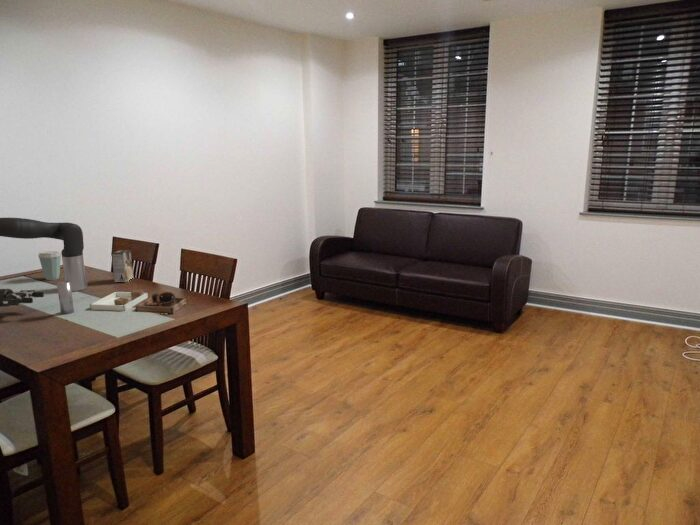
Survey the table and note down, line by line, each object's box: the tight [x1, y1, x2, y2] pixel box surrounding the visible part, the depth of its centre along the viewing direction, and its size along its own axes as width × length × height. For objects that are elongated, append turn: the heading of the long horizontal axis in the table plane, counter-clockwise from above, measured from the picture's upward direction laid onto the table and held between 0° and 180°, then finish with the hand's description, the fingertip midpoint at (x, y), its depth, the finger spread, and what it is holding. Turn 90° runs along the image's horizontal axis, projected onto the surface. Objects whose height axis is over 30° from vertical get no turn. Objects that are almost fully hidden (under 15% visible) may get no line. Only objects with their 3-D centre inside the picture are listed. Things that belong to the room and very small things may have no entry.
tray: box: [89, 291, 149, 312], centre depth 228 cm, size 20×16×3 cm
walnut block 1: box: [114, 298, 129, 305], centre depth 221 cm, size 4×4×4 cm
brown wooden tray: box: [135, 296, 188, 314], centre depth 224 cm, size 15×17×3 cm
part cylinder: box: [56, 280, 75, 315], centre depth 214 cm, size 5×5×14 cm
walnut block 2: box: [130, 289, 144, 300], centre depth 234 cm, size 4×4×4 cm
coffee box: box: [111, 249, 135, 283], centre depth 268 cm, size 9×6×16 cm
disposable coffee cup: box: [38, 250, 62, 281], centre depth 271 cm, size 11×11×15 cm
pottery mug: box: [151, 291, 178, 307], centre depth 225 cm, size 12×10×8 cm
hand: (37, 297), depth 213 cm, fingers open, 8 cm apart
